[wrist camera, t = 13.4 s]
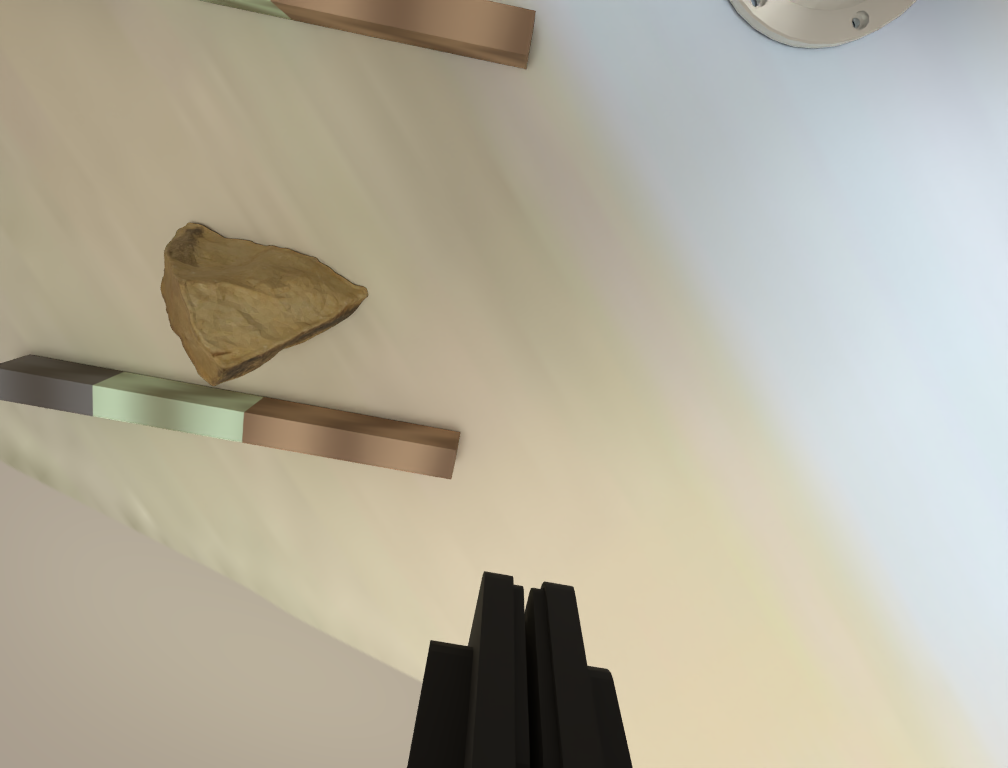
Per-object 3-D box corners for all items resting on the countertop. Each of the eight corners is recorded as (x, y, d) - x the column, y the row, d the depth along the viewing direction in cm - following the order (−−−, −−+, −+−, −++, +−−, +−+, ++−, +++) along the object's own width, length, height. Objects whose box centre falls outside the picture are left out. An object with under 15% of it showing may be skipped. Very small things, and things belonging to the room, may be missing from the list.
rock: (107, 269, 33) (213, 411, 34) (73, 200, 26) (211, 384, 27) (274, 195, 38) (363, 321, 39) (287, 118, 31) (396, 276, 32)
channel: (533, 28, 32) (535, 11, 29) (455, 459, 39) (451, 479, 36) (8, -84, 30) (-44, -114, 28) (31, 384, 38) (-9, 398, 35)
